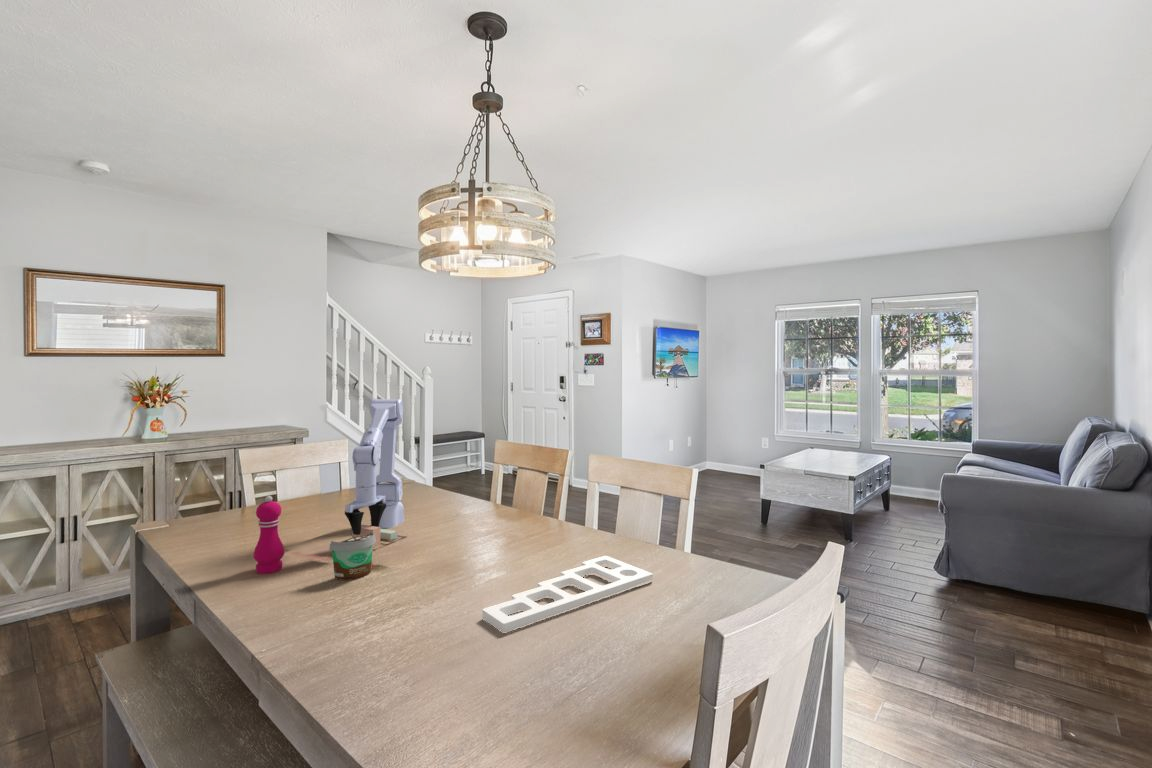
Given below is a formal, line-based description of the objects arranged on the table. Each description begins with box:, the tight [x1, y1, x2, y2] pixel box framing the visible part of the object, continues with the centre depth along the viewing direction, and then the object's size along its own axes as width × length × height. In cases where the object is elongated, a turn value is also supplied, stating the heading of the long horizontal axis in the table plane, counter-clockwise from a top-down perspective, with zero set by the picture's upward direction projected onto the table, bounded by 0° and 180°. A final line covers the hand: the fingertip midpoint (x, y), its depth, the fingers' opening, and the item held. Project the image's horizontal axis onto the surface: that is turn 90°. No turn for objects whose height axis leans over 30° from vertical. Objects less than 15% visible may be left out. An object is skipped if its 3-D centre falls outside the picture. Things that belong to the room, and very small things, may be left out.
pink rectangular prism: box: [351, 524, 381, 549], centre depth 166 cm, size 3×8×7 cm, turn 68°
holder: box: [482, 555, 654, 632], centre depth 136 cm, size 45×18×3 cm, turn 130°
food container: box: [329, 531, 376, 581], centre depth 146 cm, size 12×6×10 cm, turn 143°
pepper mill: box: [253, 495, 285, 575], centre depth 150 cm, size 7×7×20 cm
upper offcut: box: [380, 528, 398, 541], centre depth 174 cm, size 3×7×2 cm, turn 68°
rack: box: [373, 534, 407, 552], centre depth 170 cm, size 15×12×2 cm
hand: (366, 530), depth 166 cm, fingers open, 7 cm apart
